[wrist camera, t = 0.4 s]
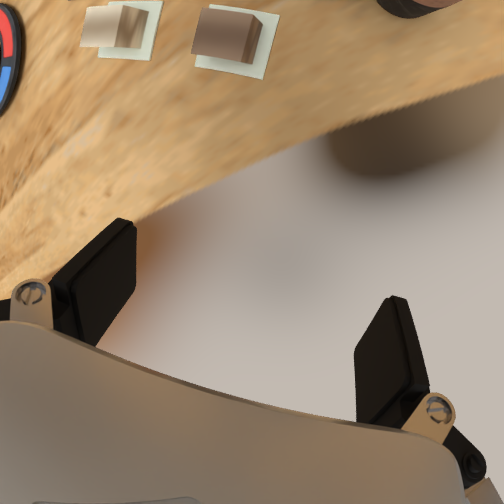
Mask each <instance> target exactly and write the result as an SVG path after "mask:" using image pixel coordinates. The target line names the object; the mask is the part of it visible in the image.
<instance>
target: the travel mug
mask: <svg viewBox="0 0 504 504" xmlns="http://www.w3.org/2000/svg"><path fill="white" fill-rule="evenodd" d="M459 1H461V0H377V2H378V3H379V4H380V5H381V6H382V7H383V8H384V9H385V10H387V11H388V12H390V13H391V14H393V15H396V16H398V17H402V18H417V17H420V16H423V15H426V14H428V13H431V12H434V11H436V10H439V9H442V8H445V7H448V6H450V5H452V4H455V3H457V2H459Z"/></svg>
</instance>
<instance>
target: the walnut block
mask: <svg viewBox="0 0 504 504" xmlns="http://www.w3.org/2000/svg"><path fill="white" fill-rule="evenodd" d="M262 26H263V24H262V23H261V22H260V21H259V20H258V19H257V18H256V17H255V16H254V15H253V14H248V13H242V12H236V11H229V10H221V9H213V8H203V7H202V10H201V14H200V17H199V21H198V25H197V29H196V33H195V38H194V42H193V46H192V50H191V54H197V55H204V56H210V57H216V58H222V59H227V60H233V61H238V62H243V63H248V64H253V60H254V56H255V52H256V48H257V45H258V41H259V37H260V33H261V30H262Z"/></svg>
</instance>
